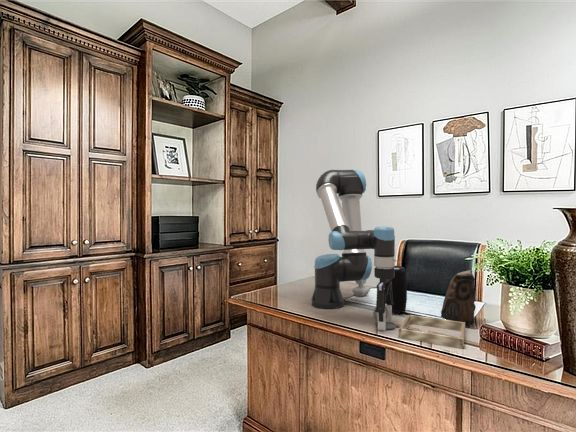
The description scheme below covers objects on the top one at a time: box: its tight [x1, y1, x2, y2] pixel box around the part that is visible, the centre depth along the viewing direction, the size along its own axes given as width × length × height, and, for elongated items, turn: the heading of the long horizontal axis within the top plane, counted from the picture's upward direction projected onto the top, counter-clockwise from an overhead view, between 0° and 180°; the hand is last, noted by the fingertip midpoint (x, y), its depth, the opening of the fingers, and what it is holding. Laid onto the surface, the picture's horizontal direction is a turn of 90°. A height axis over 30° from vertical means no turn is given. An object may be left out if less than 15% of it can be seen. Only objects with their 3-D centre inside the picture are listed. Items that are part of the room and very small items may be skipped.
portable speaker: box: [392, 265, 408, 315], centre depth 146 cm, size 9×9×20 cm
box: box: [398, 314, 466, 350], centre depth 120 cm, size 20×18×3 cm
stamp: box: [351, 279, 371, 297], centre depth 174 cm, size 9×7×8 cm
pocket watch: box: [372, 307, 397, 330], centre depth 129 cm, size 8×8×10 cm
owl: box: [440, 269, 476, 327], centre depth 132 cm, size 13×13×20 cm
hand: (385, 325), depth 129 cm, fingers open, 9 cm apart
